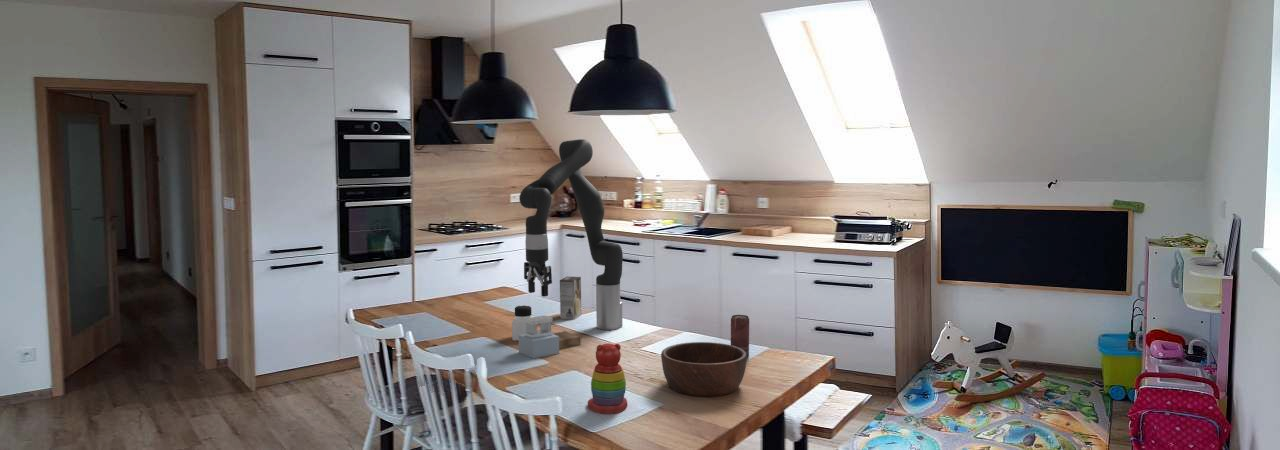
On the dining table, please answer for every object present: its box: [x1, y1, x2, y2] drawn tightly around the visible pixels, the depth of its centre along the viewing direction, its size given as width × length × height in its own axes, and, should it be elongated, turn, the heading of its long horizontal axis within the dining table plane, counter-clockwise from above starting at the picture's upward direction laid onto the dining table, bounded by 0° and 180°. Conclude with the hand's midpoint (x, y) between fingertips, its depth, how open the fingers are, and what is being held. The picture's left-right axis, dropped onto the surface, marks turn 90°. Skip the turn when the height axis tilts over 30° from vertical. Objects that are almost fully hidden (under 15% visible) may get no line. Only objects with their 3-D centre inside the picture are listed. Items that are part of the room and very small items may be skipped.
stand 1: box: [518, 334, 560, 359], centre depth 267 cm, size 10×10×6 cm
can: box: [730, 314, 750, 359], centre depth 259 cm, size 6×6×14 cm
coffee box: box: [559, 276, 582, 320], centre depth 321 cm, size 9×6×16 cm
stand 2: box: [553, 330, 582, 350], centre depth 278 cm, size 10×10×3 cm
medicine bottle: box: [511, 304, 533, 342], centre depth 286 cm, size 7×7×12 cm
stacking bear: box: [587, 343, 628, 415], centre depth 210 cm, size 11×10×18 cm
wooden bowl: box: [660, 341, 748, 397], centre depth 229 cm, size 25×25×10 cm
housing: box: [524, 315, 553, 339], centre depth 266 cm, size 8×5×6 cm, turn 128°
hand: (538, 294), depth 265 cm, fingers open, 8 cm apart
